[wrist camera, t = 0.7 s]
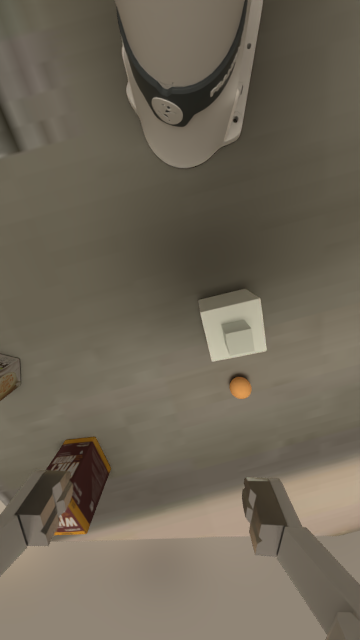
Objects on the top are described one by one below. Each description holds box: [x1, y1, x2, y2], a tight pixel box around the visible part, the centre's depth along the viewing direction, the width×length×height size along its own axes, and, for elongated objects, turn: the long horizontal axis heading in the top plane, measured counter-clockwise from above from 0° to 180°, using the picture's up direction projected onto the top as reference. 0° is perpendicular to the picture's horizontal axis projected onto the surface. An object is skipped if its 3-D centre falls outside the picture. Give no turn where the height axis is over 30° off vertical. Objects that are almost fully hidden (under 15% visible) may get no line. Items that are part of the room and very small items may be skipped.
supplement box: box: [46, 437, 111, 535], centre depth 52 cm, size 10×15×16 cm
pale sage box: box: [198, 289, 267, 362], centre depth 35 cm, size 10×10×13 cm
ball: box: [230, 377, 251, 399], centre depth 44 cm, size 5×5×5 cm
